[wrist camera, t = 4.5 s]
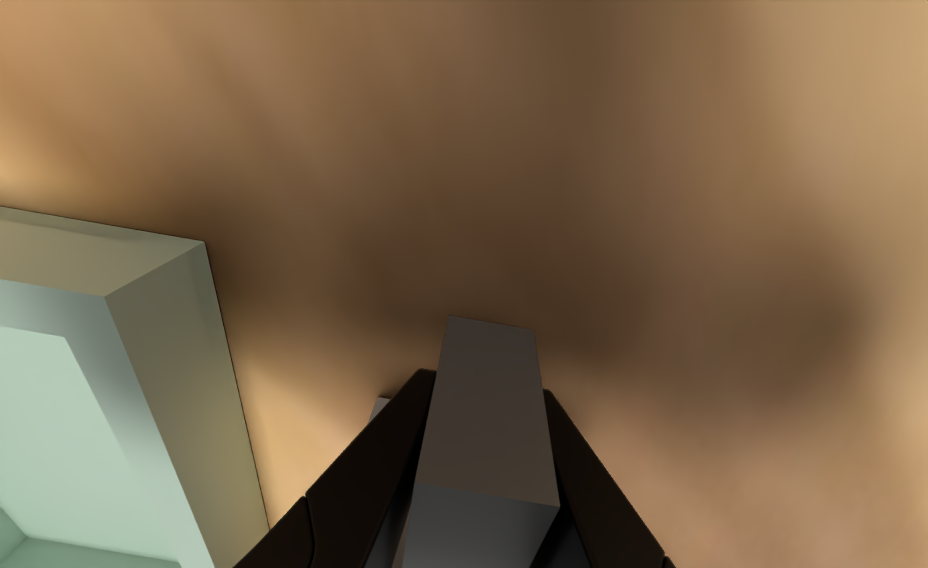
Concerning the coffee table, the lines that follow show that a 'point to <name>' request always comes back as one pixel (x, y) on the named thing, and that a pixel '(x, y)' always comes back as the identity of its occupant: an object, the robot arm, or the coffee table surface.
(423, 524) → the grey stepped block
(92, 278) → the tray
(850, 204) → the coffee table surface
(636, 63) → the coffee table surface
